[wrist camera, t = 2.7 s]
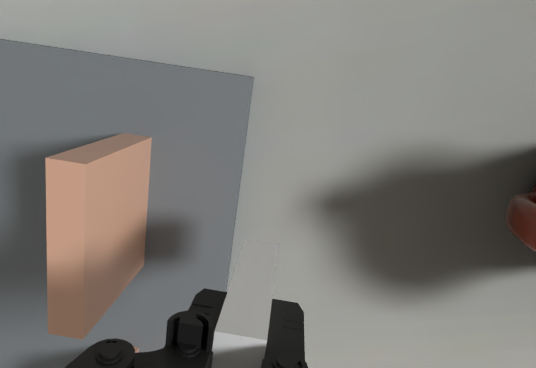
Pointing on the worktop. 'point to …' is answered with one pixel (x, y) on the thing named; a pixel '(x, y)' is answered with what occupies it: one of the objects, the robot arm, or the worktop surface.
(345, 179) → the worktop surface
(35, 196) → the mat
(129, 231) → the tile
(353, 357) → the worktop surface
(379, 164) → the worktop surface
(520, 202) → the mug
